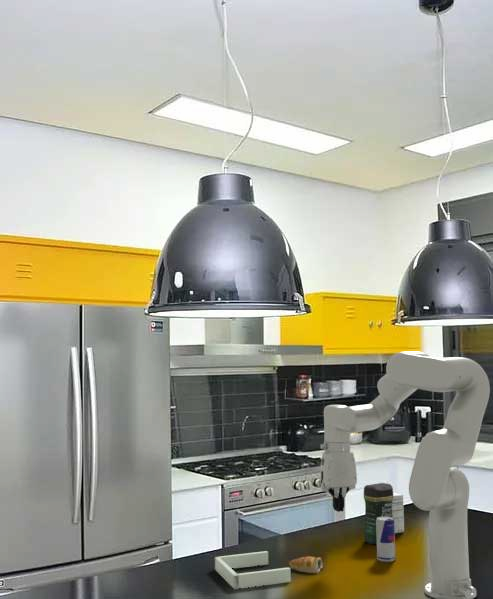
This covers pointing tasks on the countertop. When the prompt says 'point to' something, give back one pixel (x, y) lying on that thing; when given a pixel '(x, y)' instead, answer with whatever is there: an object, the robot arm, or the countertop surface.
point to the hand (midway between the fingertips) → (338, 510)
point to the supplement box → (398, 512)
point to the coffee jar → (376, 507)
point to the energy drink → (385, 539)
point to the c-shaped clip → (251, 578)
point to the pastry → (306, 564)
